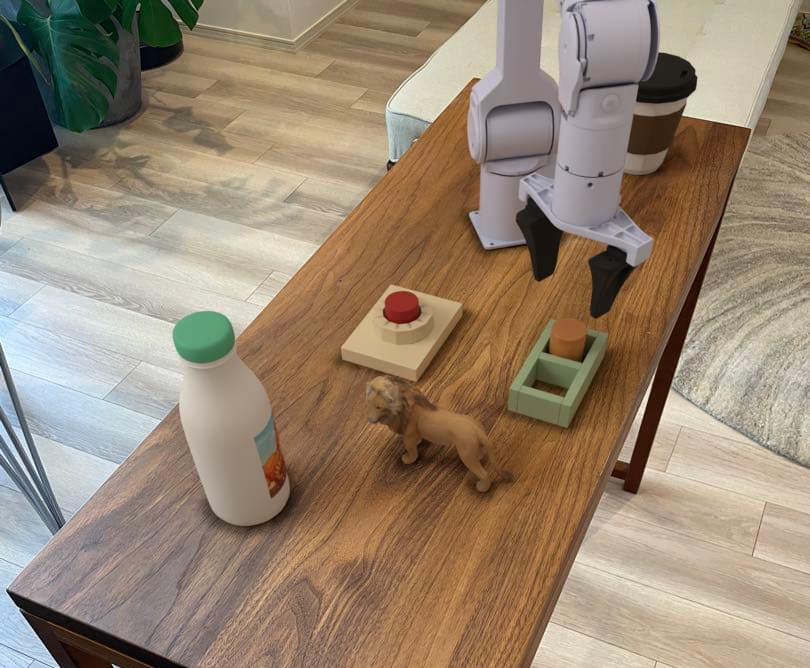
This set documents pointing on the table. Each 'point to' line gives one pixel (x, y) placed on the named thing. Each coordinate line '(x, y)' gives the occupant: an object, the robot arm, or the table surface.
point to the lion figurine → (428, 425)
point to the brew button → (401, 307)
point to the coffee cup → (658, 112)
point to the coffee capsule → (568, 339)
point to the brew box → (402, 336)
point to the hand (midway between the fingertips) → (571, 294)
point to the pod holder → (555, 379)
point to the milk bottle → (228, 423)
